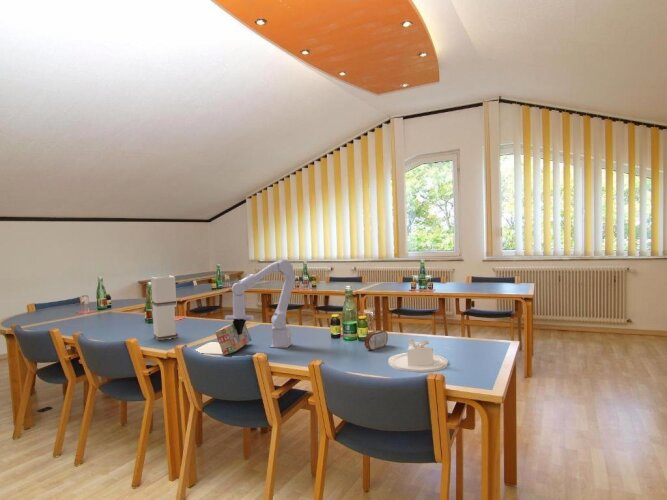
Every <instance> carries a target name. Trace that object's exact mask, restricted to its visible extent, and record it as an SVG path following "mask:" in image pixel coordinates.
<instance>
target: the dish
mask: <svg viewBox="0 0 667 500" xmlns="http://www.w3.org/2000/svg"><path fill="white" fill-rule="evenodd" d="M407 343H408V348H407V352H403V353H397V354H394V355H391V356H390V357H389V358H388V365H389V366H390V367H391V368H393V369H396V370H399V371H404V372H411V373H413V372H414V373H431V372H436V371H440V370H443V369H444V368H447V366H448V365H449V361H448V359H447V358H445V357H443V356H442V355H438V354H435V353H434V348H433V347H430V346H428V345H429V344H430V341H429V340H422V341H414V339H410V338H409V339H408V340H407Z"/></svg>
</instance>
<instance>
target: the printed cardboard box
mask: <svg viewBox="0 0 667 500" xmlns="http://www.w3.org/2000/svg"><path fill="white" fill-rule="evenodd" d="M214 334H215V336H216V339H217V342H219V344H220V347H221V349H222V352H223V354H222V355H223V356H227V355H229V354H232V353H235V352H236V351H238V350H240V349H241V348H243V347H244V346H245V345H246V344H248V343H250V342H252V337H251V334H250V332H249V329H248V327H247V325H246V323H245V324H244V327H243V331H242V334H241V335H238V333H237V330H236V327H235V325H234V324H233V323H230V324H228V325H226V326H223V327H221V328H220V329H218V330H216V331H215V332H214Z"/></svg>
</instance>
